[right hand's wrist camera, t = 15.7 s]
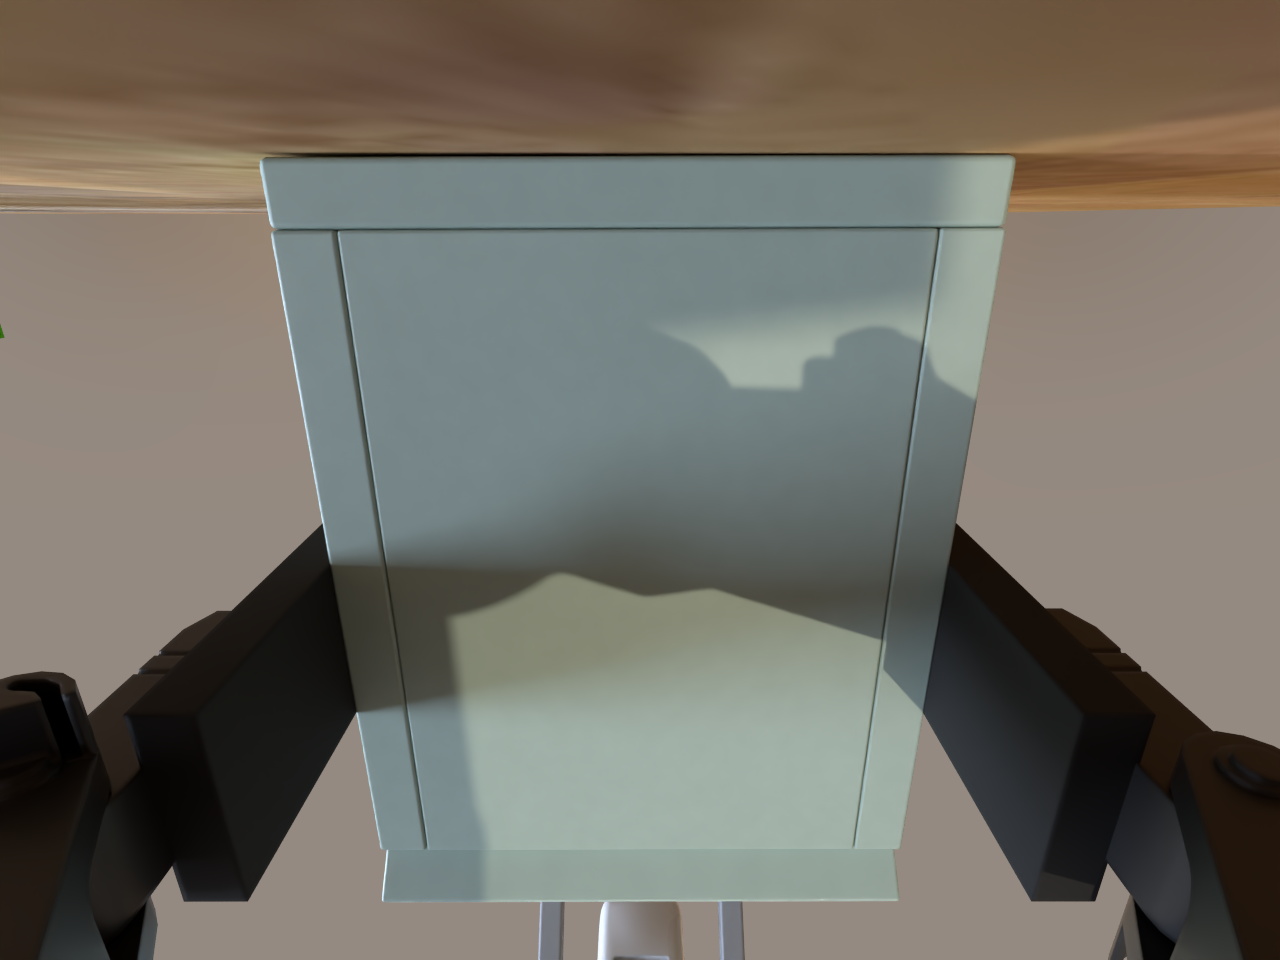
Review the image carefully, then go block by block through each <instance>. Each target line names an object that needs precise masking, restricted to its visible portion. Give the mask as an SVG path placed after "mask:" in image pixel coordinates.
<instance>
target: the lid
mask: <svg viewBox="0 0 1280 960" xmlns="http://www.w3.org/2000/svg"><path fill="white" fill-rule="evenodd" d="M898 900H899V890H898V880H897V871H896V861H895V852H894V849H855V848H854V846H853V848H851V849H601V850H429V849H428V846H427V848H426V849H424V850H387V855H386V865H385V875H384V885H383V895H382V901H383V902H540V927H539V953H538V960H563V937H564V902H648V901H718V914H719V943H720V960H745V955H744V932H743V909H742V901H898Z"/></svg>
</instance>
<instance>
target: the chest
mask: <svg viewBox="0 0 1280 960" xmlns="http://www.w3.org/2000/svg"><path fill="white" fill-rule="evenodd" d="M1015 164H1016V161H1015V157H1013V156H1011V155H1009V154H955V155H695V156H434V157H266V158H264V159H262V160H260V170H261V176H262V181H263V187H264V193H265V198H266V204H267V209H268V215H269V221H270V224H271V226H272V227H273V228H275V229H278V230H275V231H273V232H272V234H271V237H272V243H273V249H274V254H275V260H276V265H277V271H278V277H279V282H280V288H281V293H282V299H283V305H284V310H285V315H286V321H287V327H288V332H289V338H290V344H291V349H292V355H293V360H294V366H295V371H296V377H297V383H298V388H299V394H300V399H301V405H302V411H303V416H304V422H305V427H306V433H307V439H308V444H309V450H310V455H311V461H312V466H313V472H314V478H315V483H316V489H317V494H318V500H319V506H320V511H321V517H322V522H323V528H324V533H325V539H326V545H327V550H328V556H329V561H330V565H331V571H332V577H333V582H334V588H335V594H336V600H337V605H338V611H339V617H340V622H341V628H342V634H343V639H344V645H345V651H346V656H347V662H348V667H349V673H350V679H351V684H352V690H353V695H354V701H355V707H356V712H357V718H358V723H359V729H360V734H361V740H362V746H363V751H364V757H365V762H366V768H367V774H368V779H369V785H370V790H371V796H372V801H373V807H374V813H375V818H376V824H377V829H378V835H379V841H380V846H381V849H383V850H424V849H426V848H427V846H428V849H429V850H601V849H851V848H853V846H854V848H855V849H899V848H900V847H901V841H902V835H903V830H904V824H905V818H906V812H907V806H908V800H909V794H910V788H911V783H912V777H913V771H914V765H915V759H916V753H917V748H918V742H919V736H920V730H921V724H922V718H923V710H924V705H925V699H926V693H927V687H928V682H929V676H930V670H931V664H932V659H933V653H934V647H935V641H936V636H937V630H938V624H939V618H940V613H941V607H942V601H943V595H944V589H945V584H946V578H947V572H948V566H949V560H950V554H951V548H952V543H953V537H954V531H955V525H956V519H957V513H958V507H959V502H960V496H961V490H962V484H963V478H964V472H965V466H966V460H967V455H968V449H969V443H970V437H971V431H972V425H973V419H974V414H975V407H976V402H977V396H978V390H979V384H980V378H981V373H982V367H983V361H984V355H985V349H986V343H987V337H988V332H989V325H990V320H991V314H992V308H993V302H994V296H995V291H996V284H997V279H998V273H999V267H1000V261H1001V255H1002V249H1003V244H1004V238H1005V229H1004V228H1002V227H999V226H1001V225H1003V224H1004V223H1005V221H1006V217H1007V211H1008V205H1009V199H1010V193H1011V187H1012V181H1013V176H1014V170H1015Z"/></svg>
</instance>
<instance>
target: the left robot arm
mask: <svg viewBox="0 0 1280 960" xmlns="http://www.w3.org/2000/svg"><path fill="white" fill-rule="evenodd" d="M598 960H685V958H684V943H683V928H682V918H681V912H680V907H679V905H678V903H677V902H676V901H648V902H605V903H604V904H603V907H602V910H601V916H600V927H599V944H598Z"/></svg>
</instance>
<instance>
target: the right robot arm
mask: <svg viewBox="0 0 1280 960" xmlns="http://www.w3.org/2000/svg"><path fill="white" fill-rule="evenodd" d="M1120 650H1121V649H1120V648H1119V647H1118V646H1117V645H1116V644H1115V643H1114V642H1113V641H1111V640H1110V639H1109V638H1108V637H1107V636H1106V635H1105V634H1103V633H1102V632H1101V631H1100V630H1099V629H1098V628H1097V627H1095V626H1093V625H1092V624H1090V623H1088V622H1086V621H1084V620H1082V619H1081V618H1079V617H1077V616H1075V615H1073V614H1071V613H1069V612H1068V611H1066V610H1064V609H1045V608H1044V607H1043V606H1042V605H1041V604H1040V603H1039V602H1038V601H1037V600H1036V599H1035V598H1034V597H1033V596H1032V595H1031V594H1030V593H1028V592H1027V591H1026V590H1025V589H1024V588H1023V587H1022V586H1021V585H1020V584H1019V583H1018V582H1017V581H1016V580H1015V579H1014V578H1013V577H1012V576H1011V575H1010V574H1009V573H1008V572H1007V571H1006V570H1004V569H1003V568H1002V567H1001V566H1000V565H999V564H998V563H997V562H996V561H995V560H994V559H993V558H992V557H991V556H990V555H989V554H988V553H987V552H986V551H985V550H984V549H983V548H982V547H981V546H979V545H978V544H977V543H976V542H975V541H974V540H973V539H972V538H971V537H970V536H969V535H968V534H967V533H966V532H965V531H964V530H963V529H962V528H961V527H960V526H959V525H958V524H956V525H955V531H954V537H953V543H952V548H951V554H950V560H949V566H948V572H947V578H946V584H945V589H944V595H943V601H942V607H941V613H940V618H939V624H938V630H937V636H936V641H935V647H934V653H933V659H932V664H931V670H930V676H929V682H928V687H927V693H926V699H925V705H924V710H923V713H924V715H925V717H926V719H927V720H928V722H929V724H930V725H931V727H932V729H933V731H934V732H935V734H936V736H937V738H938V739H939V741H940V743H941V745H942V746H943V748H944V750H945V752H946V753H947V755H948V757H949V759H950V760H951V762H952V764H953V766H954V767H955V769H956V771H957V773H958V774H959V776H960V778H961V779H962V781H963V783H964V785H965V786H966V788H967V790H968V792H969V793H970V795H971V797H972V799H973V800H974V802H975V804H976V806H977V807H978V809H979V811H980V812H981V814H982V816H983V818H984V820H985V821H986V823H987V825H988V826H989V828H990V830H991V832H992V833H993V835H994V837H995V839H996V840H997V842H998V844H999V846H1000V847H1001V849H1002V851H1003V853H1004V854H1005V856H1006V858H1007V859H1008V861H1009V863H1010V865H1011V867H1012V868H1013V870H1014V872H1015V874H1016V875H1017V877H1018V879H1019V880H1020V882H1021V884H1022V886H1023V887H1024V889H1025V891H1026V893H1027V894H1028V896H1029V898H1030V900H1031V901H1095V900H1096V897H1097V894H1098V891H1099V888H1100V885H1101V882H1102V879H1103V876H1104V873H1105V870H1106V867H1107V863H1108V864H1109V865H1110V867H1111V868H1112V869H1113V871H1114V872H1115V874H1116V875H1117V876H1118V878H1119V879H1120V880H1121V882H1122V883H1123V885H1124V886H1125V887H1126V889H1127V890H1128V891H1129V893H1130V896H1129V899H1128V902H1127V905H1126V908H1125V910H1124V913H1123V916H1122V919H1121V922H1120V925H1119V928H1118V930H1117V933H1116V936H1115V939H1114V942H1113V945H1112V948H1111V951H1110V953H1109V958H1108V960H1123V959H1124V958H1125V957H1127V960H1280V749H1278V748H1276V747H1275V746H1272V745H1269V744H1266V743H1263V742H1260V741H1257V740H1255V739H1252V738H1249V737H1246V736H1242V735H1236V734H1230V733H1224V732H1218V731H1212V730H1211V729H1210V728H1209V727H1208V726H1207V725H1205V724H1204V723H1203V722H1202V721H1201V720H1200V719H1199V718H1198V717H1197V716H1195V715H1194V714H1193V713H1192V712H1191V711H1190V710H1189V709H1188V708H1186V707H1185V706H1184V705H1183V704H1182V703H1181V702H1180V701H1179V700H1178V699H1176V698H1175V697H1174V696H1173V695H1172V694H1171V693H1170V692H1169V691H1167V690H1166V689H1165V688H1164V687H1163V686H1162V685H1161V684H1160V683H1158V682H1157V681H1156V680H1155V679H1154V678H1153V677H1152V676H1151V675H1150V674H1148V673H1147V672H1142V671H1141V666H1139V665H1138V664H1137V663H1136V662H1135V661H1134V660H1133V659H1132V658H1130V657H1129V656H1128V655H1127V654H1126V653H1121V651H1120ZM355 714H356V707H355V701H354V695H353V690H352V684H351V679H350V673H349V667H348V662H347V656H346V651H345V645H344V639H343V634H342V628H341V622H340V617H339V611H338V605H337V600H336V594H335V588H334V582H333V577H332V571H331V565H330V561H329V556H328V550H327V545H326V539H325V533H324V528H323V524H322V525H321V526H319V527H318V528H317V529H316V530H315V531H314V532H313V533H312V534H311V535H310V536H309V537H308V538H307V539H306V540H305V541H304V542H303V543H302V544H301V545H300V546H299V547H298V548H297V549H296V550H294V551H293V552H292V553H291V554H290V555H289V556H288V557H287V558H286V559H285V560H284V561H283V562H282V563H281V564H280V565H279V566H278V567H277V568H276V569H275V570H274V571H273V572H272V573H271V574H269V575H268V576H267V577H266V578H265V579H264V580H263V581H262V582H261V583H260V584H259V585H258V586H257V587H256V588H255V589H254V590H253V591H252V592H251V593H250V594H249V595H248V596H246V597H245V598H244V599H243V600H242V601H241V602H240V603H239V604H238V605H237V606H236V607H235V608H234V609H233V610H232V611H216V612H215V613H213V614H211V615H209V616H207V617H205V618H204V619H202V620H200V621H198V622H196V623H194V624H193V625H191V626H189V627H187V628H185V629H184V630H182V631H181V632H180V633H179V634H178V635H177V636H176V637H175V638H173V639H172V640H171V641H170V642H169V643H168V644H167V645H166V646H165V647H163V648H162V649H161V650H160V651H159V655H158V656H153V657H152V658H151V659H150V660H149V661H148V662H147V663H146V664H145V665H143V666H142V667H141V668H140V669H139V673H138V674H134V675H132V676H131V677H130V678H129V679H128V680H127V681H126V682H125V683H123V684H122V685H121V686H120V687H119V688H118V689H117V690H116V691H114V692H113V693H112V694H111V695H110V696H109V697H108V698H107V699H106V700H105V701H103V702H102V703H101V704H100V705H99V706H98V707H97V708H96V709H94V710H93V711H92V712H91V713H90V714H89V715H88V716H87V713H86V710H85V707H84V704H83V701H82V699H81V696H80V693H79V690H78V687H77V684H76V681H75V680H74V679H72V678H71V677H69V676H67V675H66V674H64V673H56V672H42V671H41V672H34V673H27V674H21V675H14V676H10V677H7V678H4V679H0V960H153V955H154V948H155V940H156V933H157V926H158V924H157V918H156V912H155V908H154V905H153V902H152V899H151V894H152V893H153V892H154V890H155V889H156V887H157V886H158V885H159V883H160V882H161V880H162V879H163V878H164V876H165V875H166V874H167V872H168V871H169V869H170V868H171V867H172V866H173V869H174V872H175V875H176V879H177V882H178V884H179V888H180V891H181V894H182V897H183V900H184V901H185V902H188V901H190V902H191V901H248V900H249V898H250V897H251V895H252V893H253V891H254V890H255V888H256V886H257V884H258V883H259V881H260V879H261V877H262V876H263V874H264V872H265V870H266V869H267V867H268V865H269V863H270V862H271V860H272V858H273V857H274V855H275V853H276V851H277V850H278V848H279V846H280V844H281V842H282V841H283V839H284V837H285V836H286V834H287V832H288V830H289V829H290V827H291V825H292V823H293V822H294V820H295V818H296V816H297V815H298V813H299V811H300V810H301V808H302V806H303V804H304V802H305V801H306V799H307V797H308V796H309V794H310V792H311V790H312V789H313V787H314V785H315V783H316V782H317V780H318V778H319V776H320V775H321V773H322V771H323V769H324V768H325V766H326V764H327V763H328V761H329V759H330V757H331V756H332V754H333V752H334V750H335V748H336V747H337V745H338V743H339V742H340V740H341V738H342V736H343V735H344V733H345V731H346V729H347V728H348V726H349V724H350V722H351V721H352V719H353V717H354V715H355Z"/></svg>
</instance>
